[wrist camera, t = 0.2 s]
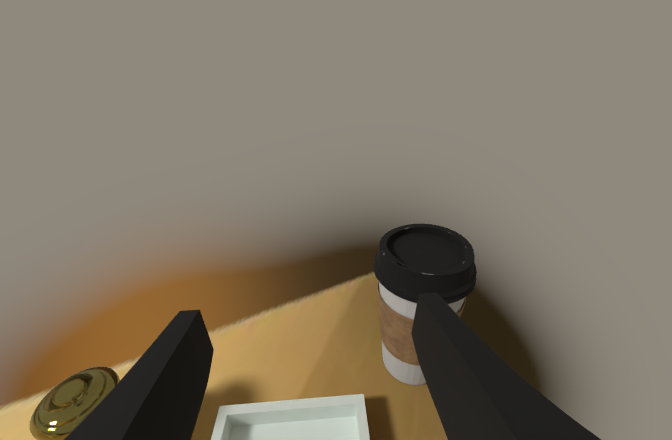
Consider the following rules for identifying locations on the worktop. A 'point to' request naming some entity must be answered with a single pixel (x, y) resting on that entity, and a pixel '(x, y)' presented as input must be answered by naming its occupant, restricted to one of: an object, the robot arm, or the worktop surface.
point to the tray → (295, 420)
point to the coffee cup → (418, 286)
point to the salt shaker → (71, 403)
